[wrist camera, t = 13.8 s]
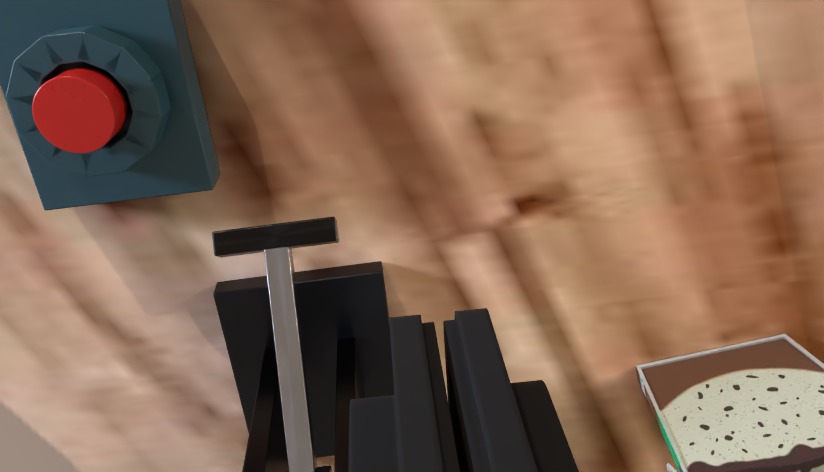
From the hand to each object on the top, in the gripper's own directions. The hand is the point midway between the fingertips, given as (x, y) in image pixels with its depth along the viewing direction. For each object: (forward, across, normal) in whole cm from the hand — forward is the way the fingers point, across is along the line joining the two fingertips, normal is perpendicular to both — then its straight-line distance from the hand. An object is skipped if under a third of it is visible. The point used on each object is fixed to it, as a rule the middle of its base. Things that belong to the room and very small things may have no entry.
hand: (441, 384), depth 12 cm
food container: (+24, -18, +22) cm, 38 cm away
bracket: (+24, +6, +16) cm, 30 cm away
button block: (+24, +13, 0) cm, 27 cm away
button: (+20, +13, 0) cm, 24 cm away
